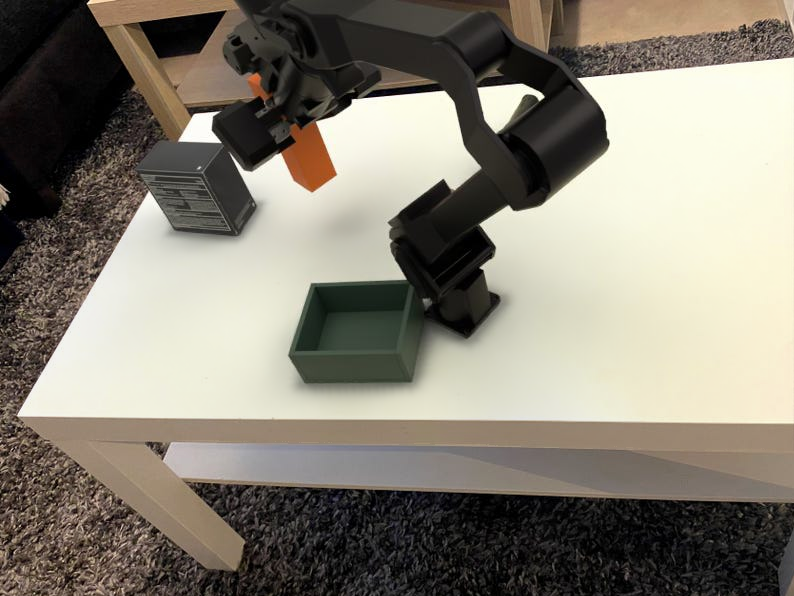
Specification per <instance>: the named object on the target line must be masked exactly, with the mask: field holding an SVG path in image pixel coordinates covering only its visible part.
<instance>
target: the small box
mask: <svg viewBox="0 0 794 596" xmlns="http://www.w3.org/2000/svg"><path fill="white" fill-rule="evenodd" d="M134 171H135V173H136V175H138V176H139V178H140V179H141V181H142V182H143V184H144V185H145V187H146V188H147V190H148V191H149V193H150V195H151V196H152V197H153V199H154V200H155V202H156V204H157V205H158V206H159V208H160V210H161V212H162V213H163V215H164V216H165V217H166V219H167V221H168V222H169V224H170V226H171V227H172V229H173V230H174V231H176V232H177V231H178V232H191V233H203V234H216V235H227V236H238V235H239V234H240V233H241V231H242V229H243V228H244V226H245V224H246V223H247V221H249V219H250V217H251V216H252V214H253V213H254V211H255V210H256V208H257V206H258V204H257V203H256V201H255V199H254V197H253V195H252V193H251V191H250V189H249V188H248V185H247V184H246V181H245V180H244V178H243V176H242V174H241V172H240V170H239V168H238V166H237V164H236V162H235V161H234V158H233V156H232V155H231V154H230V153H229V151H228V150H227V149H226V148H225V146H224V145H223V144H222V143H221V142H206V141H201V142H200V141H178V140H176V141H175V140H158V141H157V142H156V143H155V144H154V145H153V147H152V148H151V149H150V150H149V151H148V153H146V154H145V156H144V157H143V158H142V159H141V160H140V161H139V163H138V164H137V165H136V167H134Z"/></svg>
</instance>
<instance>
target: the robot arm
mask: <svg viewBox="0 0 794 596" xmlns="http://www.w3.org/2000/svg"><path fill="white" fill-rule="evenodd" d="M233 2H234V3H235V4H236V5H237V7H238V8H239V9H240V10H241V12H242V14H243V15H244V16H245V17H246V18H247V19H246V20H244V21H242V22H240V23H239V24H237V25H236V26H235V27H234V28H233V31H232V32H230V33H229V34H227V35H226V38H227V40H226V41H224V42H223V44H222V47H221V51H222V52H221V53H222V55H223V59H224V60H225V62H226V63H227V65H228V66H229V67H230V68H231V69H233V71H235V73H236V74H237V75H239V76H240V77H243V76H244V75H246V74H248V73H250V74H252V76H253V75H254V74H256V73H257V74H258V75H259V76H260V77H261V81H260V86H261V87H262V89H263V90H264V91H265V92H266V94H270V93H272V94H273V96H272V97H270V98H269V99H267V100H265V101H264V100H263V99H262V98H261V96H258V97H256V98H255V97H254V98H253V99H251V100H250V101H248V102H247V103H246V102H245V101H243V100H242V99H238V100H236V101H235V102H233V103H231V104H230V105H228V106H227V107H225V108H224V109H222V110H220V111H219V112H217V113H216V114H214V115H212V121H211V132H212V133H213V134H214V135H215V137H216V138H217V139H218V141H219V142H220V143H222V144H223V145H224V146H225V148H226V149H227V150H228V151H229V153H230V155H231V157H232V158H233V160H235V161H236V163H237V164H238V165H239V166H240V167H241V169H242V170H243V171H245V172H248V173H253V172H254V171H256V170H258V169H259V168H261V167H262V166H263V165H265V164H266V163H268V162H269V161H271V160H272V159H273V158H274V157H276V156H277V155H281V152H283V151H284V150H286V149H287V148H289V147H290V146H292V145H293V144H295V143H296V141H295V139H294V138H293V137H292V136H291V134H290V133H291V130H290V127H292V126H293V125H295V124H296V125H297V126H298V127H299V128H300V130H301V131H302V130H303V129H305V128H306V127H308V126H309V125H311V124H312V123H313V122H315V121H316V123H317V122H320V121H323V120H327V119H332V118H335V117H336V116H338V115H339V114H340V113H342V112H343V111H345V110H347V109H348V108H349V107H350V106H352V104H353V99H352V97H351V96H350V95H349V92H351V91H352V90H353V91H354V93H353V97H354V98H355V99H356V100H361V99H362V98H364V97H366V96H367V95H368V94H370V93H372V92H373V91H374V90H376V89H378V87H379V85H380V84H381V82H382V80H383V78H382V76H383V75H382V71H381V68H384V69H387V70H391V71H394V72H398V73H402V74H406V75H410V76H414V77H417V78H420V79H425V80H429V81H432V82H436V83H437V84H438V85H439V86H440V87H441V88H442V90H443V91H444V93H446V94H447V96H448V97H449V98H450V99H451V101H452V102H453V104H454V107H455V112H456V117H457V121H458V126H459V131H460V135H461V139H462V144H463V146H464V148H465V150H466V151H467V153H468V154H469V155H470V156H471V157H472V158H473V159H474V161H475V162H476V163H477V164H478V166H479V167H480V169H479V170H477V171H476V172H475V173H474V174H472V175H471V176H470V177H469V178H468V179H467V180H465V181H464V182H463V183H462V184H460V185H459V186H457V188H456V189H454V188H451V187H450V186H449V184H448V182H447V181H446V179H445V178H442V179H440V180H439V181H438V182H437V183H436V184H434V185H433V186H431V187H430V188H429V189H427V190H426V191H425V192H423V193H422V194H421V195H420V196H418V197H416V199H414V200H413V201H411V202H410V203H409V204H407V205H406V206H405V207H404V208H402V209H401V210H399V212H398V213H397V214H396V215H395V216H393V217H392V218H391V219H389V220H388V221H387V224H388V226H390V227H391V228H390V229H389V231H388V238H389V239H390V240H391V242H390V243H389V248H390V253H391V255H392V256H393V258H394V261H395V262H396V264H397V266H398V267H399V269H400V271H401V272H402V275H403V276H404V278H405V280H407V281H408V282H409V283H410V284H411V285H412V286H413V287H414V289H415V292H416V295H417V297H418V298H420V299H423V300H429V302H431V304H430V305H428V307H427V308H426V310H425V312H424V315H425V316H424V318H425V319H427V320H429V321H431V322H434V323H435V324H438V325H440V327H444V328H445V329H448V330H450V331H451V332H454V333H455V334H458V335H459V336H461V337H464V338H469V337H470V336H472V335H473V333H474V332H475V331H476V330H477V329H478V328H479V326H480V325H481V324H482V323H483V322H484V321H485V320H486V318H487V317H489V315H490V314H491V313H492V312H493V311H494V309H495V308H496V307H497V306H498V305H499V304H500V303H501V300H502V299H501V296H500V295H499V294H497V293H495V292H493V291H490V290H489V288H488V287H489V286H488V282H487V279H486V274H485V271H484V269H483V268H481V267H482V266H484V265H485V264H486V263H488V262H489V261H490V260H493V259H494V258H495V256H496V252H497V246H496V245H495V243H494V242H493V241H492V239H491V238H490V236H488V233H487V232H486V231H485V230H484V229H483V227H482V226H481V224H483V223H484V222H485V221H487V220H488V219H490V218H491V217H493V216H494V215H496V214H497V213H499V212H501V211H502V210H504V209H506V208H507V207H510V209H511V210H512V211H513V212H522V211H526V210H531V209H536V208H539V207H541V206H543V205H544V204H545V203H547V202H548V201H549V200H550V199H552V197H554V196H555V195H556V194H557V193H559V192H560V191H561V190H562V189H563V188H565V187H566V186H567V185H568V184H570V183H571V182H572V181H574V180H575V179H576V178H577V177H579V175H581V174H582V173H583V172H585V171H586V170H587V169H588V168H589V167H590V166H591V165H593V164H594V163H596V162H597V161H598V160H599V159H600V158H602V157H603V156H604V154H605V153H606V152H608V149H609V148H610V144H611V143H610V139H609V137H608V131H607V118H606V115H605V112H604V110H603V109H602V107H601V106H600V104H599V102H598V101H597V100H596V99H595V98H594V97H593V95H592V94H591V93H590V91H588V89H587V88H586V87H585V86H584V84H583V83H582V82H581V81H580V79H579V78H578V77H577V76H576V75H575V74H574V72H573V71H572V70H571V69H570V67H568V65H567V64H566V63H565V62H564V61H563V60H562V59H560V58H558V57H556V56H554V55H552V54H550V53H548V52H546V51H543V50H541V49H539V48H537V47H535V46H533V45H531V44H529V43H527V42H525V41H523V40H521V39H519V38H518V37H517V36H516V35H515V33H513V31H512V30H511V29H510V28H509V26H508V25H507V24H506V23H505V22H504V20H502V18H501V17H500V16H499V15H497V13H495V12H493V11H492V10H489V9H485V10H481V11H480V10H475V11H471V12H467V11H466V12H465V11H460V10H454V9H449V8H442V7H438V6H437V7H436V6H431V5H423V4H418V3H414V2H413V3H412V2H407V1H402V0H401V1H400V0H233ZM495 71H497V72H498V73H499V74H500V75H503V76H505V77H506V78H509V79H510V80H512V81H515V82H518V83H519V84H522V85H524V86H526V87H529V88H530V89H532V90H534V91H537V92H539V93H541V95H542V96H543V97H542V98H541V99H540V100H539V102H537V103H536V104H535V105H533V106H532V107H531V108H529V109H528V110H527V111H525V112H524V113H523V114H521V115H520V116H519V117H517V118H516V119H515V120H513V121H512V122H511V123H509V124H508V125H507V126H505V125H504V126H505V127H504V126H503V127H502V128H501V129H500V130H499V131H498V132H495V130H493V128H492V127H491V125H489V123H488V122H487V121H486V119H485V115H484V110H483V107H482V101H481V97H480V93H479V88H478V83H479V82H481V81H482V80H484V79H485V78H486V77H487V76H489V75H490V74H492V73H493V72H495ZM273 105H274V106H275V108H274V106H273ZM270 107H271V108H270ZM285 117H286V118H285ZM283 118H285V120H286V121H285V120H284V119H283Z"/></svg>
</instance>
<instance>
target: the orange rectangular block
mask: <svg viewBox="0 0 794 596" xmlns="http://www.w3.org/2000/svg"><path fill="white" fill-rule="evenodd" d="M246 81H247V84H248V85H249V88H250V90H251V92H252V94H253V97H254V99H255V98H256V97H258V96H261V98H262V99H263V100H264V101H265V100H267V99H269V98H270V97H272V96H273V94H272V93H270V94H266V92H265V91H264V90H263V89H262V87H261V86H260V81H261V77H260V76H259V75H258V74H257V73H255V74H254V75H253V74H252V75H251V76H250V77H248V78H247V79H246ZM273 106H274V105H273ZM270 108H271V107H270ZM274 108H275V106H274ZM285 118H286V117H285ZM285 118H283V119H284V120H285ZM285 121H286V120H285ZM290 130H291V133H290V134H291V136H292V137H293V138H294V139H295V141H296V143H295V144H293V145H292V146H290V147H289V148H287V149H286V150H284V151H283V152H281V153H280V155H281V157H282V159H283V162H284V163H285V165H286V168H287V170H288V172H289V174H290V176H291V179H292V181H293V182H294V183H296V184H298V185H299V186H300V187H302V188H304V189H305V190H307V191H308V192H310V193H311V194H312V193H315V192H316V191H317V190H318V189H320V188H321V187H322V186H324V185H325V184H327V183H328V182H329V181H332V179H334V178H335V177H337V176H338V173H337V171H336V168H335V166H334V163H333V160H332V158H331V155H330V153H329V151H328V148H327V146H326V143H325V141H324V138H323V135H322V133H321V131H320V129H319V126H318V123H317V122H316V121H315V122H313V123H312V124H311V125H309V126H308V127H306V128H305V129H303V130H302V131H301V130H300V128H299V127H298V126H297V125H296V124H295V125H293V126H292V127H290Z"/></svg>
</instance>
